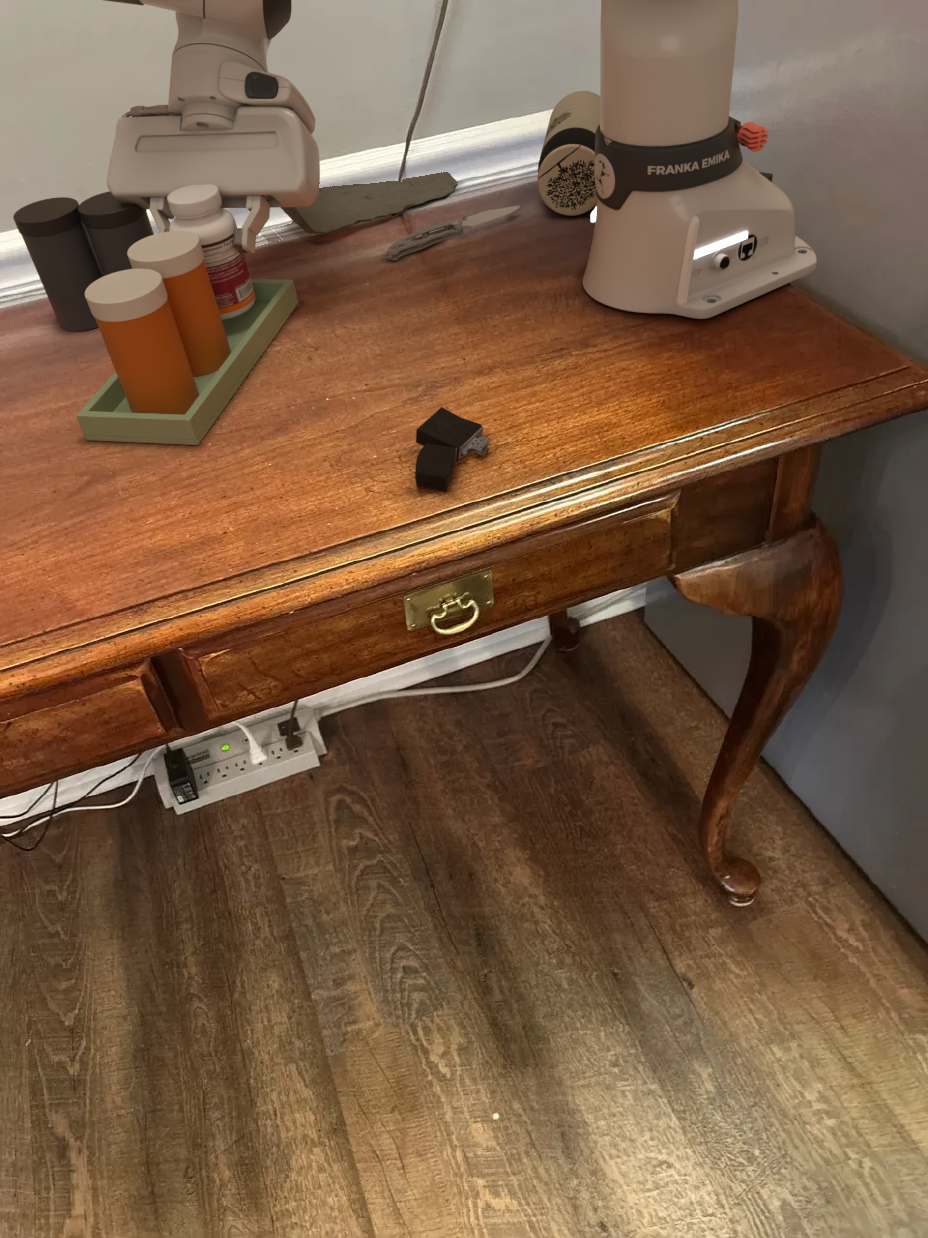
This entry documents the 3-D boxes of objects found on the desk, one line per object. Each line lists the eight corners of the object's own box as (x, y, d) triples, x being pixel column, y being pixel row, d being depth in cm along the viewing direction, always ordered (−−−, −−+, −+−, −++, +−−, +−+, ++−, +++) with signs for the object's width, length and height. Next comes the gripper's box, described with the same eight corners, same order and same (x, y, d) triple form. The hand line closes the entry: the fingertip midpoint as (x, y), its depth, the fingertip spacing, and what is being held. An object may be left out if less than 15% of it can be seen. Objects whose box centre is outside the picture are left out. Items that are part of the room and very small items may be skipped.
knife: (526, 202, 106) (512, 194, 108) (388, 251, 101) (376, 241, 103) (527, 216, 107) (513, 208, 109) (390, 265, 102) (378, 255, 104)
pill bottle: (190, 301, 95) (155, 188, 87) (251, 287, 96) (221, 174, 88) (198, 328, 90) (161, 211, 83) (261, 312, 91) (231, 196, 84)
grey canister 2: (172, 291, 102) (137, 184, 94) (182, 314, 98) (146, 204, 90) (115, 306, 101) (74, 198, 93) (122, 330, 96) (80, 219, 88)
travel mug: (625, 139, 116) (620, 196, 103) (567, 171, 119) (556, 230, 107) (597, 76, 111) (588, 127, 99) (537, 111, 115) (522, 166, 102)
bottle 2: (194, 378, 87) (155, 261, 79) (206, 410, 82) (167, 290, 75) (127, 397, 85) (80, 280, 78) (136, 430, 81) (88, 310, 73)
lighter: (384, 477, 73) (440, 505, 71) (384, 457, 71) (442, 484, 70) (440, 426, 77) (494, 450, 76) (442, 405, 76) (497, 430, 74)
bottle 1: (225, 338, 92) (192, 224, 84) (239, 366, 87) (204, 249, 80) (162, 355, 90) (122, 241, 83) (172, 384, 86) (131, 267, 79)
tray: (204, 301, 99) (197, 278, 97) (298, 302, 97) (293, 279, 95) (86, 440, 82) (75, 415, 80) (198, 445, 79) (189, 419, 78)
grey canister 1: (114, 298, 102) (75, 191, 94) (121, 321, 98) (80, 212, 90) (56, 313, 101) (11, 206, 93) (61, 337, 96) (14, 227, 89)
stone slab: (312, 218, 104) (269, 187, 109) (315, 242, 106) (272, 211, 111) (475, 177, 114) (428, 150, 119) (474, 200, 116) (428, 172, 121)
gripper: (99, 88, 87) (87, 238, 88) (306, 79, 83) (294, 236, 83) (137, 124, 94) (126, 263, 94) (331, 117, 89) (320, 263, 89)
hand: (206, 251), depth 88 cm, fingers closed on pill bottle, 6 cm apart
